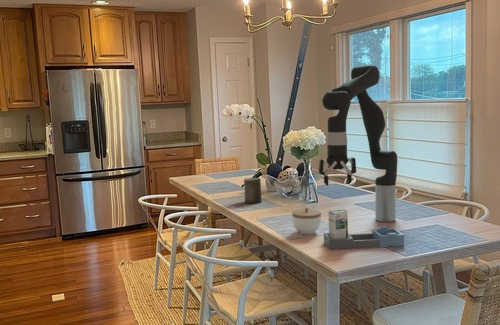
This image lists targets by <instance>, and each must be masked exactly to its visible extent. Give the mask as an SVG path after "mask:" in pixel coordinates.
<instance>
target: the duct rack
mask: <svg viewBox="0 0 500 325" xmlns="http://www.w3.org/2000/svg"><path fill="white" fill-rule="evenodd" d="M371 230H372V232H367V233H364V232H362V233H349V232H348V238H343V239H330V237H329V232H323V243H324V245H325V246H326V247H327V249H328V251H331V250H333V251H334V250H335V251H336V250H352V249H354V250H355V249H356V250H357V249H372V248H373V247H375V248H389V247H388V246H394V247H404V246H405V234H404V233H402V232H401V231H400V230H398V228H396V227H395V228H389V227H388V226H387V225H384V226H383V225H381V226H378V228H376V229H375V228H373V229H371Z"/></svg>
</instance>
